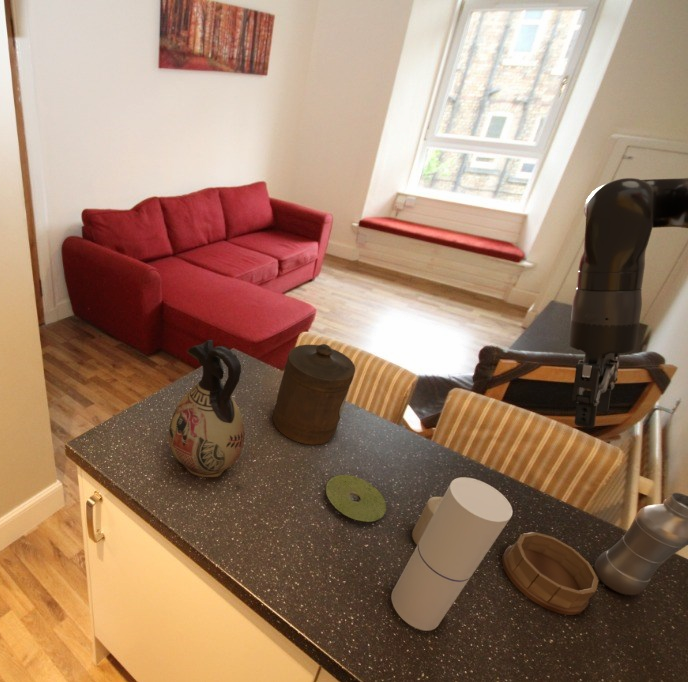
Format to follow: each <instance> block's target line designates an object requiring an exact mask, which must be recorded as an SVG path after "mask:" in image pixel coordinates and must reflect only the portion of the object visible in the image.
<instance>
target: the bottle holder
mask: <svg viewBox="0 0 688 682" xmlns="http://www.w3.org/2000/svg"><path fill="white" fill-rule="evenodd" d="M501 565H502V568H503V570H504V573H505V574H506V576H507V578H508V579H509V581H510V582H511V583H512V584H513V585H514V586H515V588H516V589H517V590H518V591H519V592H520V593H522V594H523V595H524V597H527V598H528V599H529V600H530V601H532V602H534V603H535V604H536V605H538V606H540V607H542V608H544V609H546V610H548V611H550V612H553V613H555V614H560V615H566V616H574V615H579V614H581V613H583V612H584V611H585V610H586V608H588V606H589V603H590V598H591V597H592V596H593V595H594V594H595V593H596V591H597V589H598V585H599V581H600V579H599V577H598V576H597V574H596V571H595V569H594V568H593V567H592V564H590V562H589V561H588V560H587V559H585V558H584V557H583V555H581V554H580V553H579V552H578V551H577V549H573V547H572V546H570V545H569V544H566V543H565V542H563V541H561V540H560V539H558V538H557V537H553V536H552V535H549V534H544V533H540V532H536V531H535V532H534V531H532V532H527V533H522V534H520V536H519V537H518V539H517V540H516V541H515V543H514V544H512V545H510V546H508V547H507V548H506V549H505V551H504V552H503V553H502V556H501Z"/></svg>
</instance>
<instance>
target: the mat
mask: <svg viewBox="0 0 688 682" xmlns="http://www.w3.org/2000/svg"><path fill="white" fill-rule="evenodd" d="M325 494H326V496H327V499H328V500H329V502H330V503H331V505H332V506H333V507H334V508H335V509H336V510H337V511H338V512H340V513H341V514H342V515H344V516H346V517H347V518H350V519H353V520H356V521H359V522H368V523H369V522H371V523H372V522H375V521H377V520H378V521H379V520H380V519H382V518H383V517H384V516H385V514H386V511H387V504H386V499H385V498H384V497H383V495H382V493H381V492H380V491H379V490H378V489H377V488H376V487H375V486H374V485H372V484H371V483H369V482H368V481H367V480H365V479H363V478H360V477H357V476H354V475H350V474H349V475H348V474H339V475H335V476H333V477H331V478H330V479H329V480H328V481H327V483H326V486H325Z"/></svg>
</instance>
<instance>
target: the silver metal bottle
mask: <svg viewBox="0 0 688 682" xmlns="http://www.w3.org/2000/svg"><path fill="white" fill-rule="evenodd" d="M687 546H688V495H686V494H684V493H680V492H672V493H670V495H669V496H667V497H666V498H665V499H664V500H663V501H662V503H658V504H650V505H646V506H644V507H642V508H640V509H639V510H638V512H637V513H636V515H635V516H634V519H633V521H632V522H631V524H630V526H629V528H627V530H626V532H625V533H624V535H623V536H622V537H621V538H620V539H619V540H618V541H617V542H616V543H614V545H613V546H612V547H610V548H609V549H607V550H605V551H604V552H602V553H601V554H600V555H599V556H598V557H597V558H596V560H595V563H594V572H595V574H596V576H597V577H598V580H599V581H601V583H603V584H604V585H605V586H606V587H608V588H609V589H610V590H612V591H615V592H616V593H618V594H622V595H626V596H636V595H638V594H640V593H641V592H644V591H645V590H646V588H647V587H648V585H649V584H650V582H651V580H652V577H654V575H655V573H656V572H657V571H658V569H659V568H660V566H662V565H663V564H664V563H665V562H666V561H667V560H668V559H670V558H671V557H672V556H674V555H675V554H676V553H678V552H679V551H681V550H683V549H684V548H685V547H687Z"/></svg>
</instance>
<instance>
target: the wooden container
mask: <svg viewBox="0 0 688 682" xmlns="http://www.w3.org/2000/svg"><path fill="white" fill-rule="evenodd" d="M355 373H356V366H355V363H354V362H353V360H351V359H350V357H348V356H347V355H346V354H344V353H342V352H340V351H339V350H337V349H334V348H332V347H331V346H330V345H328V344H326V343H322V344H300V345H297V346H295V347H293V348H291V349H290V351H289V352H288V354H287V357H286V362H285V367H284V370H283V374H282V378H281V380H280V384H279V388H278V393H277V397H276V401H275V405H274V408H273V413H272V422H273V424H274V426H275V428H276V429H277V430H278V431H279V432H280V433H281V434H282V435H283V436H285V437H287V438H288V439H290V440H292V441H294V442H297V443H300V444H304V445H323V444H326V443H328V442H330V441H331V440H332V439H333V438H334V436H335V434H336V432H337V431H336V430H337V428H338V425H339V422H340V420H341V416H342V413H343V410H344V406H345V403H346V399H347V396H348V393H349V391H350V390H349V389H350V386H351V385H352V382H353V380H354V376H355Z"/></svg>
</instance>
